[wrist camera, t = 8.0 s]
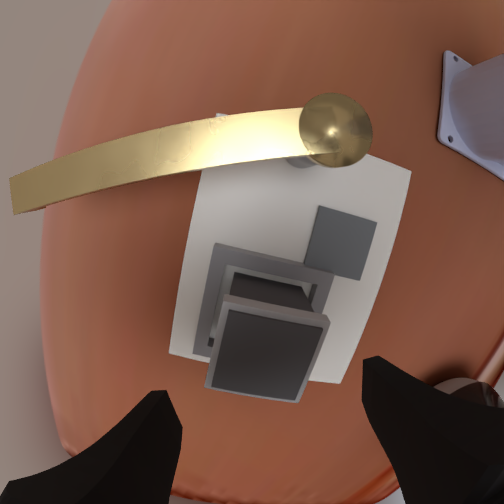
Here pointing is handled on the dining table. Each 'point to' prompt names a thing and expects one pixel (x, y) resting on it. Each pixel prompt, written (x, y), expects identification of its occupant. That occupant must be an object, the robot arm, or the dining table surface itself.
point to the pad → (340, 243)
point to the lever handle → (202, 150)
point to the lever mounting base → (285, 246)
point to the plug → (265, 340)
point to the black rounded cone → (471, 391)
